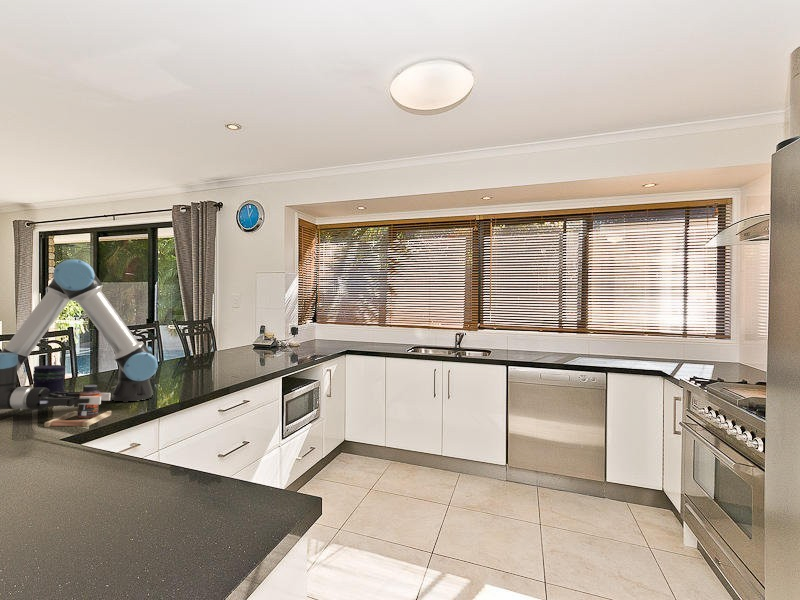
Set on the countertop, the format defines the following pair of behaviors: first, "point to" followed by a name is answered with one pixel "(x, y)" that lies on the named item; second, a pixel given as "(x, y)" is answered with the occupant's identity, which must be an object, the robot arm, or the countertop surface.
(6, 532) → the countertop surface
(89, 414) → the supplement bottle
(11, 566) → the countertop surface
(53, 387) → the storage jar
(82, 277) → the robot arm
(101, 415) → the guide channel
